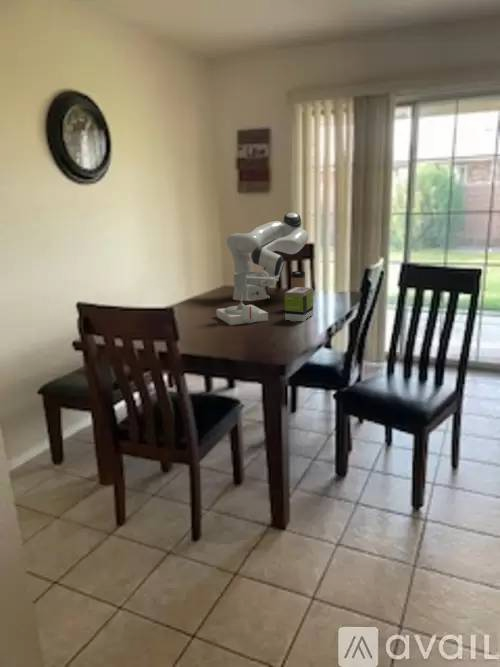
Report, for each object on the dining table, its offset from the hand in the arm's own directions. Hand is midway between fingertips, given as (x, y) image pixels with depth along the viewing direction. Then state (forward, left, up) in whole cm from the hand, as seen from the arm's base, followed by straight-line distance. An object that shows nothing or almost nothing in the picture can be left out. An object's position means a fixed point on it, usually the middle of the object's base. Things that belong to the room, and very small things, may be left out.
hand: (251, 282), depth 260 cm
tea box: (-17, +21, -17) cm, 32 cm away
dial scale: (+9, +8, -16) cm, 20 cm away
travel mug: (-27, +1, -17) cm, 32 cm away
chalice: (+9, +8, -12) cm, 17 cm away
